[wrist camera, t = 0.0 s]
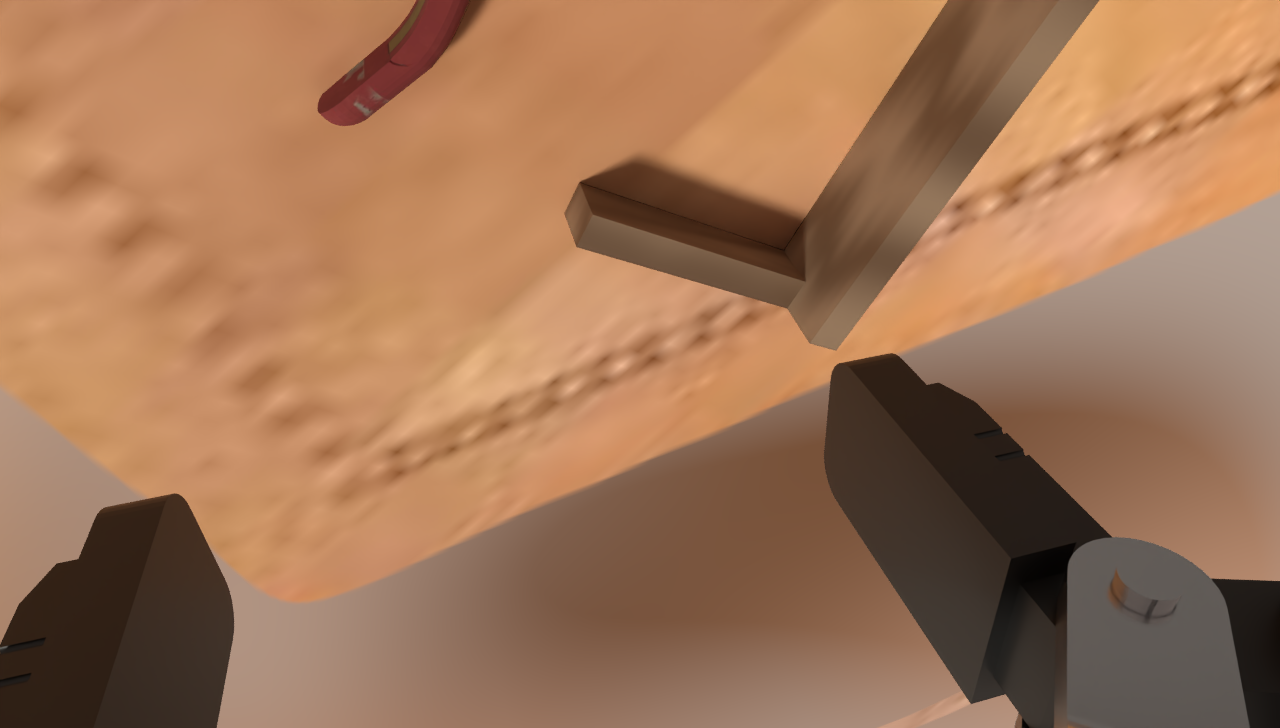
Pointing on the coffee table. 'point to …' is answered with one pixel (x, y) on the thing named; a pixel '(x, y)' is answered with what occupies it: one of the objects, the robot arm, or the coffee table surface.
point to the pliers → (394, 62)
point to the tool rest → (862, 174)
